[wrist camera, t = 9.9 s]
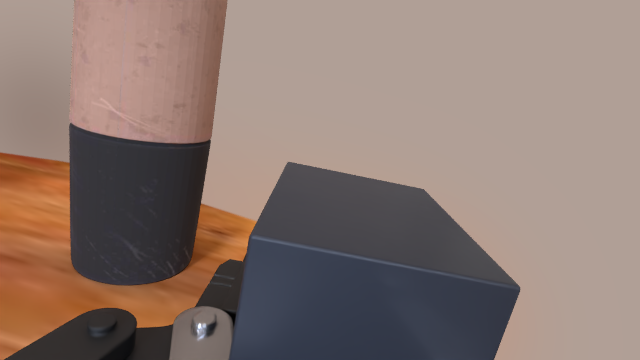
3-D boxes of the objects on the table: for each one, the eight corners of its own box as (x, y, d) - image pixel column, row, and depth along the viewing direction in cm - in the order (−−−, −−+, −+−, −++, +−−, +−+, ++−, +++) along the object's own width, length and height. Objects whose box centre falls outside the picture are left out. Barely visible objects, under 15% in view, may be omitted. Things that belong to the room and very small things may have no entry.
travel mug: (33, 260, 21) (34, -132, 17) (133, 222, 29) (156, -59, 24) (137, 304, 20) (174, -123, 15) (217, 252, 27) (260, -47, 22)
